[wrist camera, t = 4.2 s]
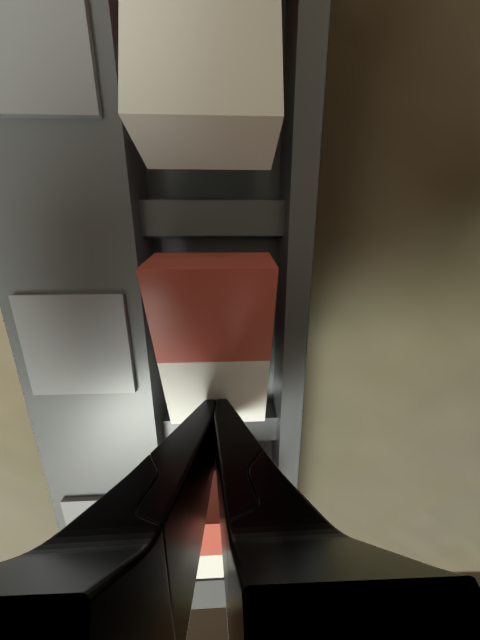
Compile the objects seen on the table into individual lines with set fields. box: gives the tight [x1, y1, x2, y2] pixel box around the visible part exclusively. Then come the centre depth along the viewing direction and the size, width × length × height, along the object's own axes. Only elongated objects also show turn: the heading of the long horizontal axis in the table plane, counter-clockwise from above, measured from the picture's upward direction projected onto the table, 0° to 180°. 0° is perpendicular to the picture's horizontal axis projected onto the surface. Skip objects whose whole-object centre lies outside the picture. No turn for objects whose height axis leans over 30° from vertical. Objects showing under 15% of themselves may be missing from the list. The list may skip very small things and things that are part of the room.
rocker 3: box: [196, 471, 224, 579], centre depth 11 cm, size 4×6×2 cm, turn 0°
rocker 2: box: [136, 252, 279, 424], centre depth 8 cm, size 4×6×2 cm, turn 0°
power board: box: [0, 0, 331, 609], centre depth 10 cm, size 11×30×4 cm, turn 0°
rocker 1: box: [118, 0, 284, 170], centre depth 6 cm, size 4×6×2 cm, turn 0°
